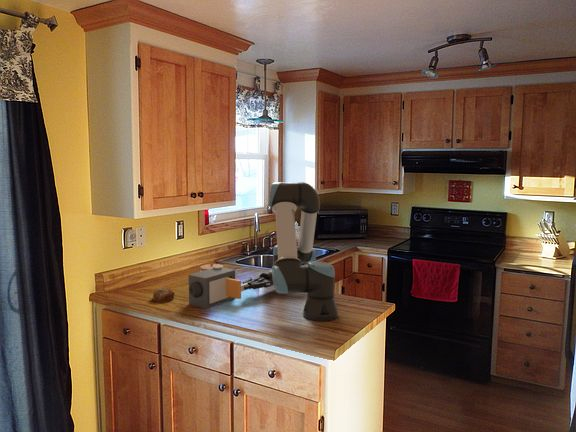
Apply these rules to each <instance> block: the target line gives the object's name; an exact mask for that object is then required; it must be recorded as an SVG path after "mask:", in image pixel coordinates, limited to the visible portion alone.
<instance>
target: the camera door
mask: <svg viewBox="0 0 576 432" xmlns="http://www.w3.org/2000/svg"><path fill="white" fill-rule="evenodd" d="M241 285H242V280H241V279H236V278H235V279H231V278H228V277H224V278H221V279H217V280H214V281H210V282H209V303H210V304H211V303H214V302H217V301H220V300H222V299H225V298H228V297H232V298H234V299H236V300H237V299H238V300H240V299H242V292H241Z"/></svg>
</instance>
